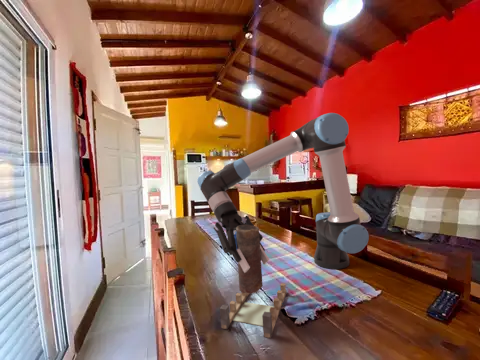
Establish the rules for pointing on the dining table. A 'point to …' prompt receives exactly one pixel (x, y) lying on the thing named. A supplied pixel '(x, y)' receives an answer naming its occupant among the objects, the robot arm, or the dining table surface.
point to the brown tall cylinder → (249, 258)
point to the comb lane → (253, 312)
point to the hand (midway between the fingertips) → (257, 265)
